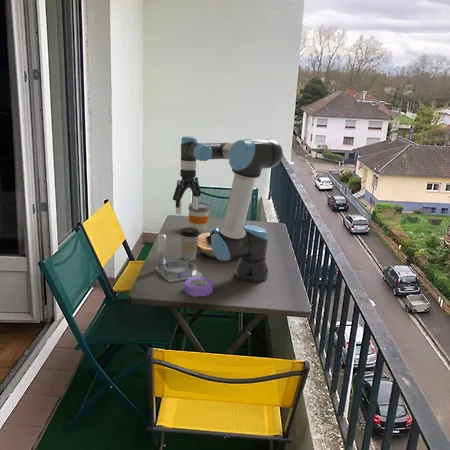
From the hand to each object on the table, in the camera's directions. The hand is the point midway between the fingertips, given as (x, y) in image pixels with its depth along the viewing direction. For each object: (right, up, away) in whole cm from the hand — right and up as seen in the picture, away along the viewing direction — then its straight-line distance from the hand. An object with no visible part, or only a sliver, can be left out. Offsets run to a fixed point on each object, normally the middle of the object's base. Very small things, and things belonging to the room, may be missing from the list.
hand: (186, 211), depth 228 cm
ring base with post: (-2, -29, -19) cm, 35 cm away
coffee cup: (+1, -24, -2) cm, 24 cm away
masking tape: (+8, -35, -35) cm, 50 cm away
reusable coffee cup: (+3, -10, +45) cm, 46 cm away
